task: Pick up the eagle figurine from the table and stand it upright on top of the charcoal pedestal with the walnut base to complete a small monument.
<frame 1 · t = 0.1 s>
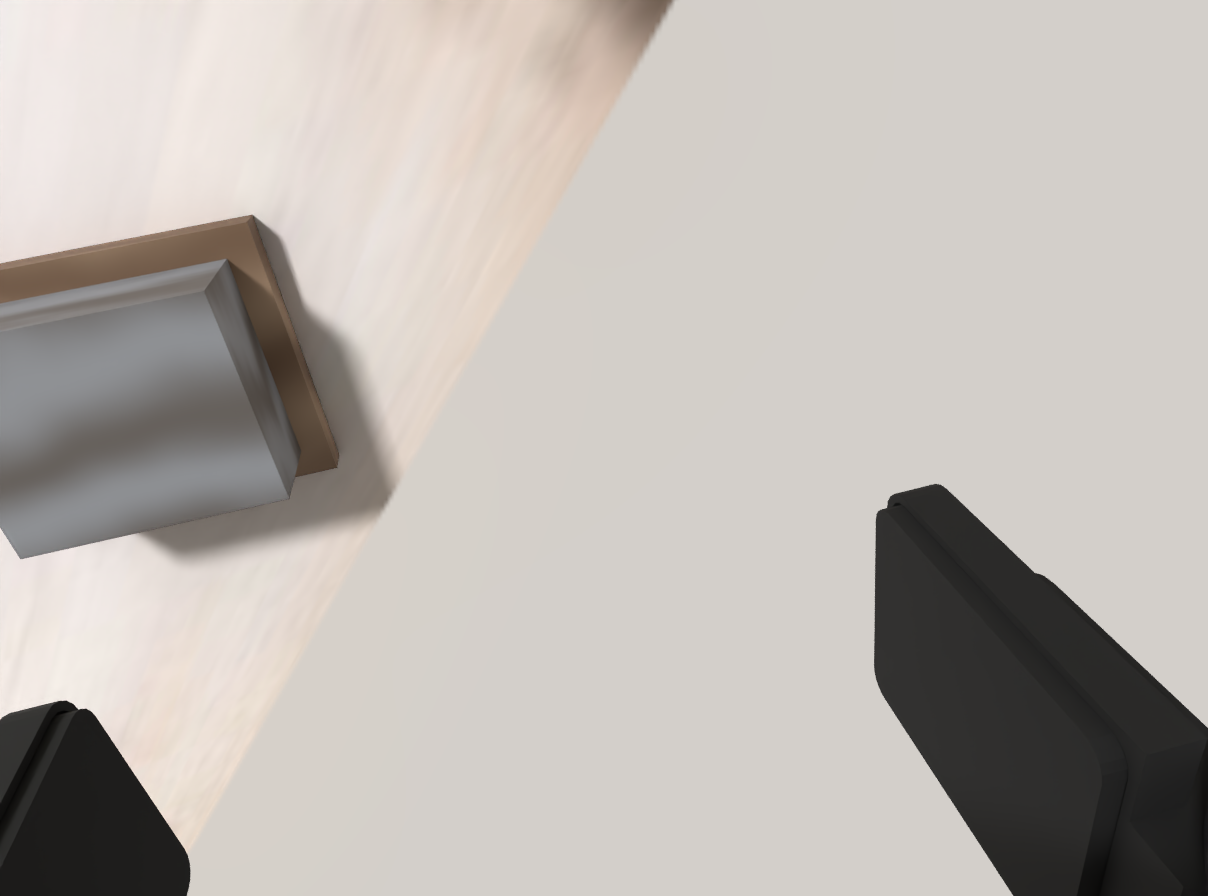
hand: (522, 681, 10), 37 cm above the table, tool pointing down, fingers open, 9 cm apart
pedestal: (146, 376, 44), on the table
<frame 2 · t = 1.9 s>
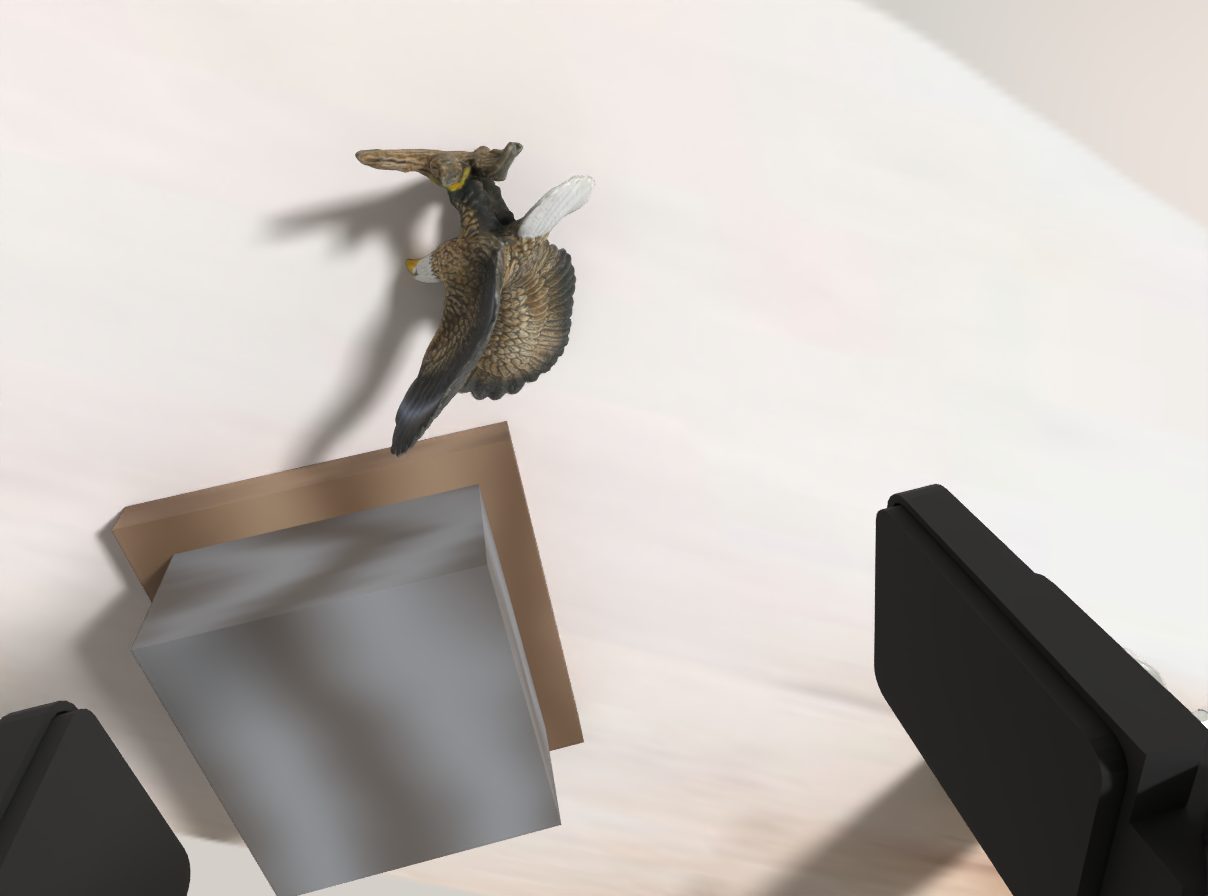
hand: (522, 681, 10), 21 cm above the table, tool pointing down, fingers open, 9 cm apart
eagle figurine: (472, 269, 29), on the table
pedestal: (381, 626, 35), on the table
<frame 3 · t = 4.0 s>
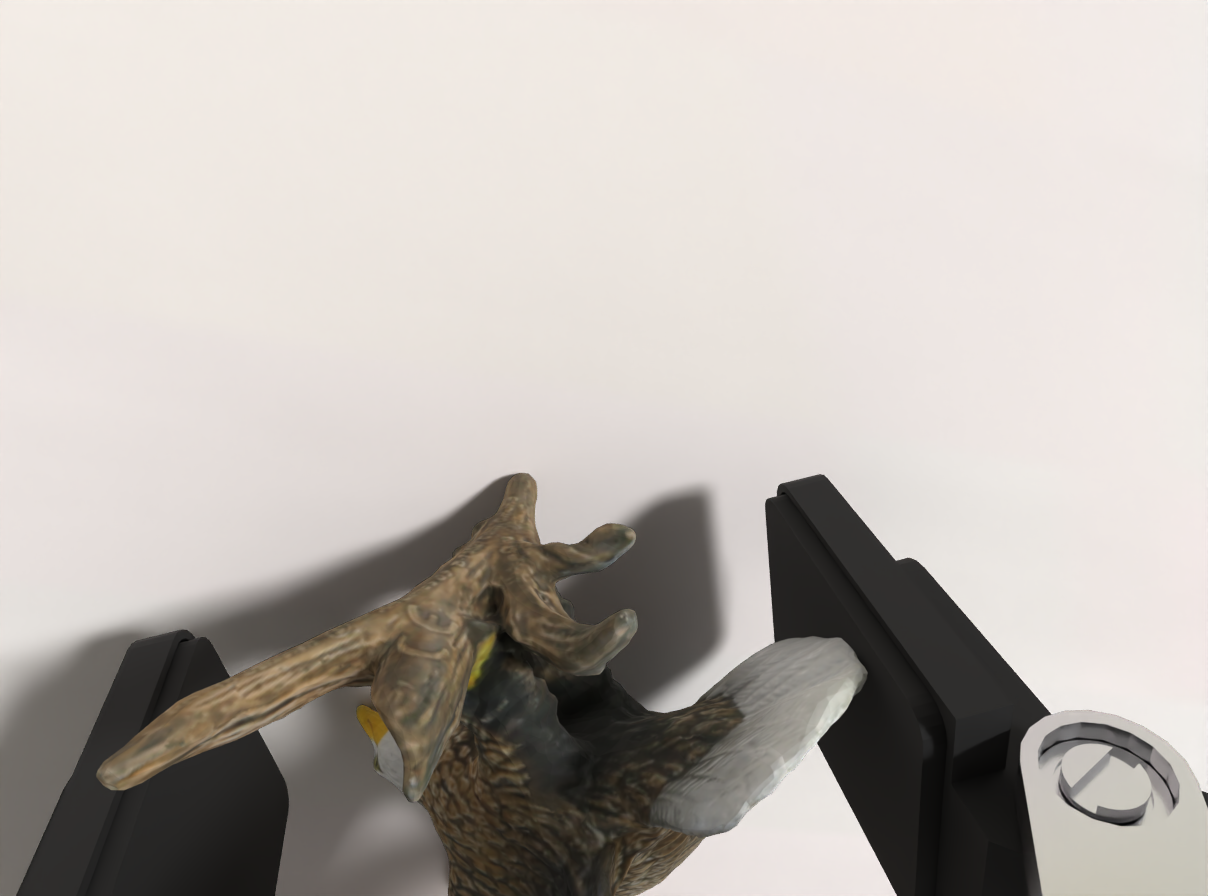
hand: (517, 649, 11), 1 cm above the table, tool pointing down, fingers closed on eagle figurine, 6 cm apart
eagle figurine: (507, 692, 13), on the table, touching gripper
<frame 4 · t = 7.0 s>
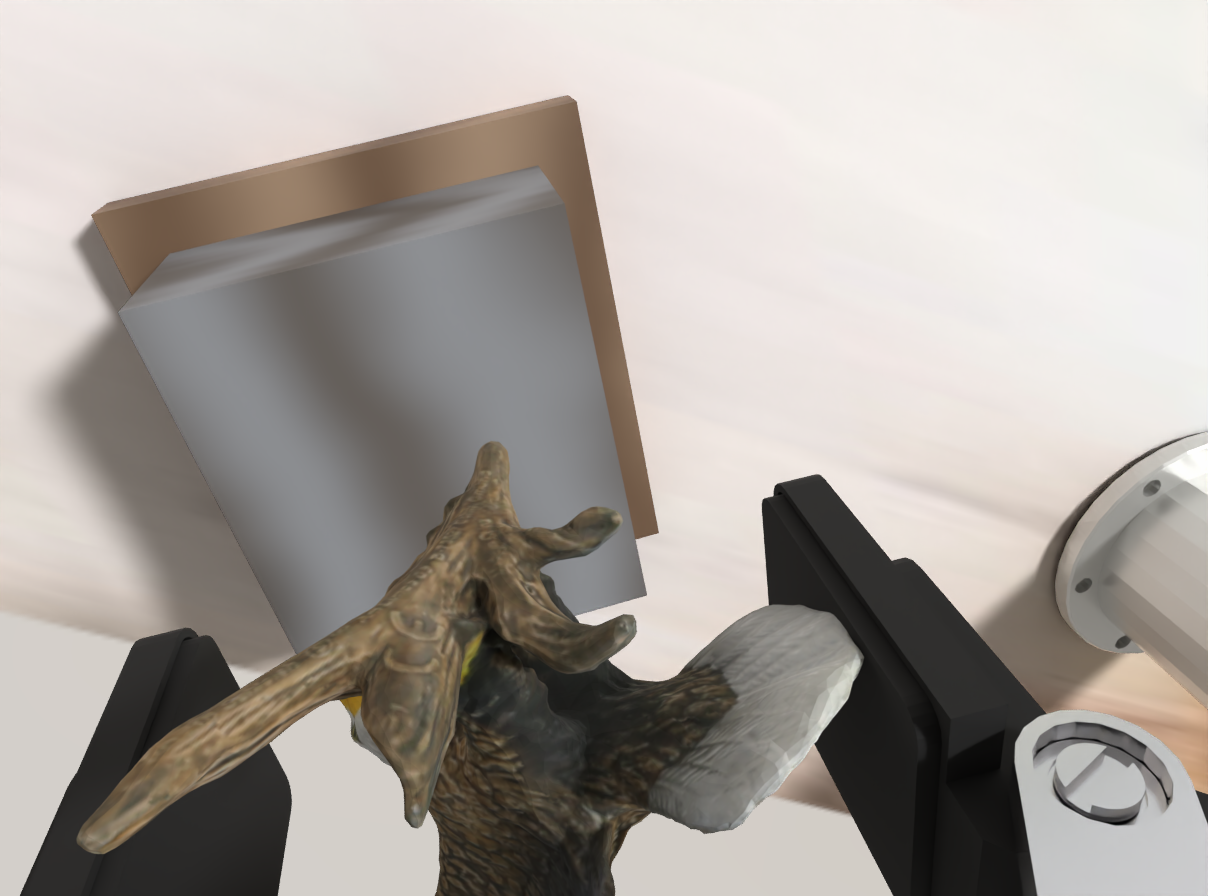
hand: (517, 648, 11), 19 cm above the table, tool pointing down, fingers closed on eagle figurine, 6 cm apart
eagle figurine: (481, 648, 13), point 18 cm above the table, touching gripper
pedestal: (421, 382, 29), on the table
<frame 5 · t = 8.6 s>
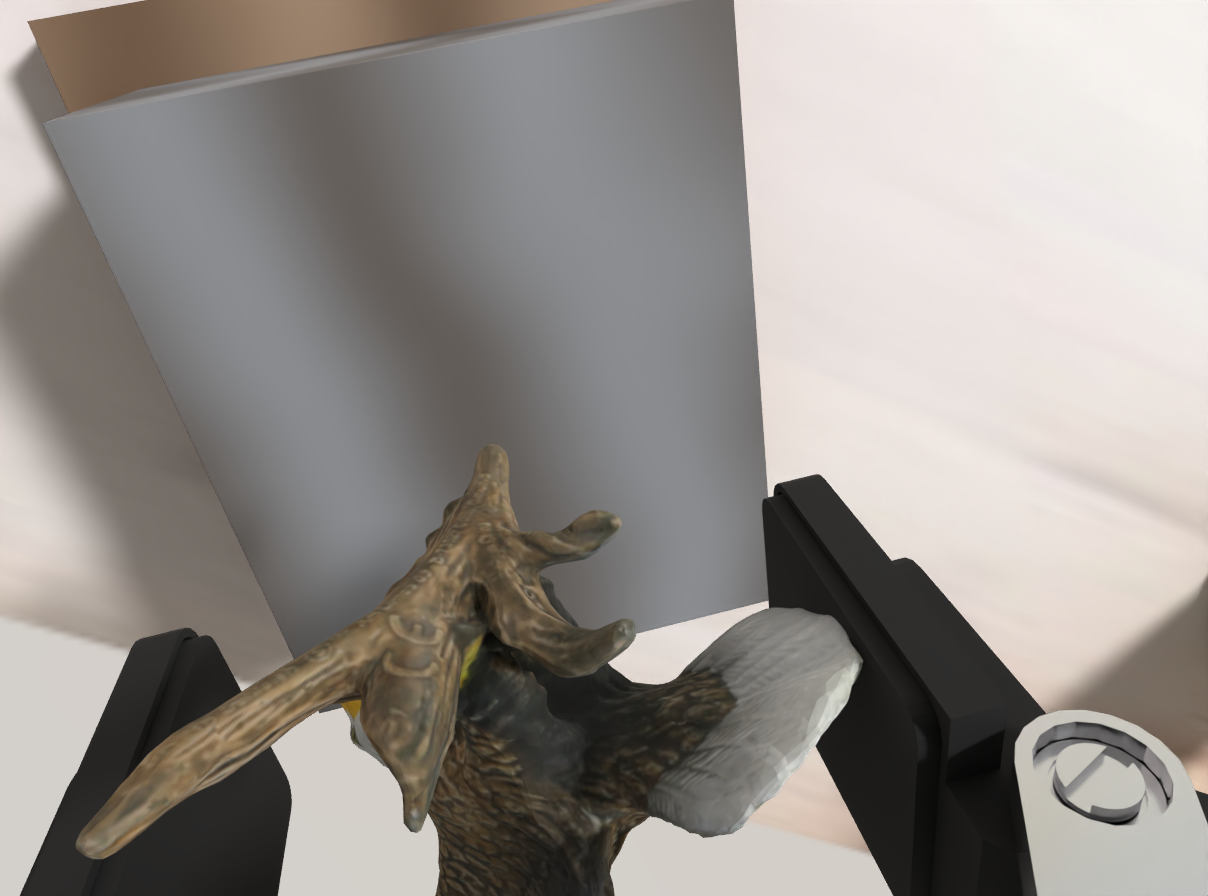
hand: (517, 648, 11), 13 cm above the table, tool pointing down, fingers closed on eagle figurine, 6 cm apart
eagle figurine: (481, 651, 13), point 12 cm above the table, touching gripper
pedestal: (474, 306, 22), on the table
when the fingers open (9 cm above the table, at t = 9.9 s): eagle figurine stays where it is, resting on pedestal.
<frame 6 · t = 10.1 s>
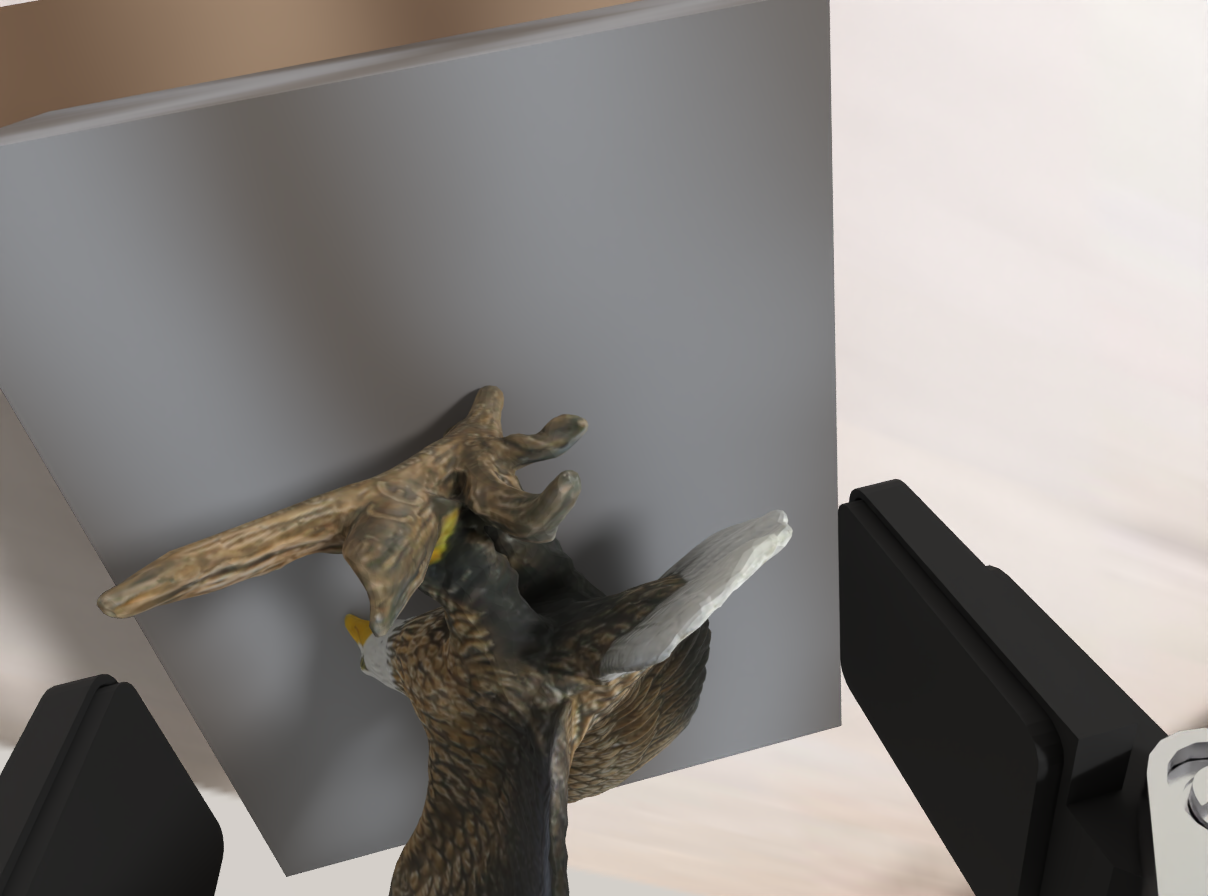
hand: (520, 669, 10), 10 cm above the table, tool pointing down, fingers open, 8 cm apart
eagle figurine: (487, 604, 14), point 6 cm above the table, touching pedestal
pedestal: (474, 364, 18), on the table
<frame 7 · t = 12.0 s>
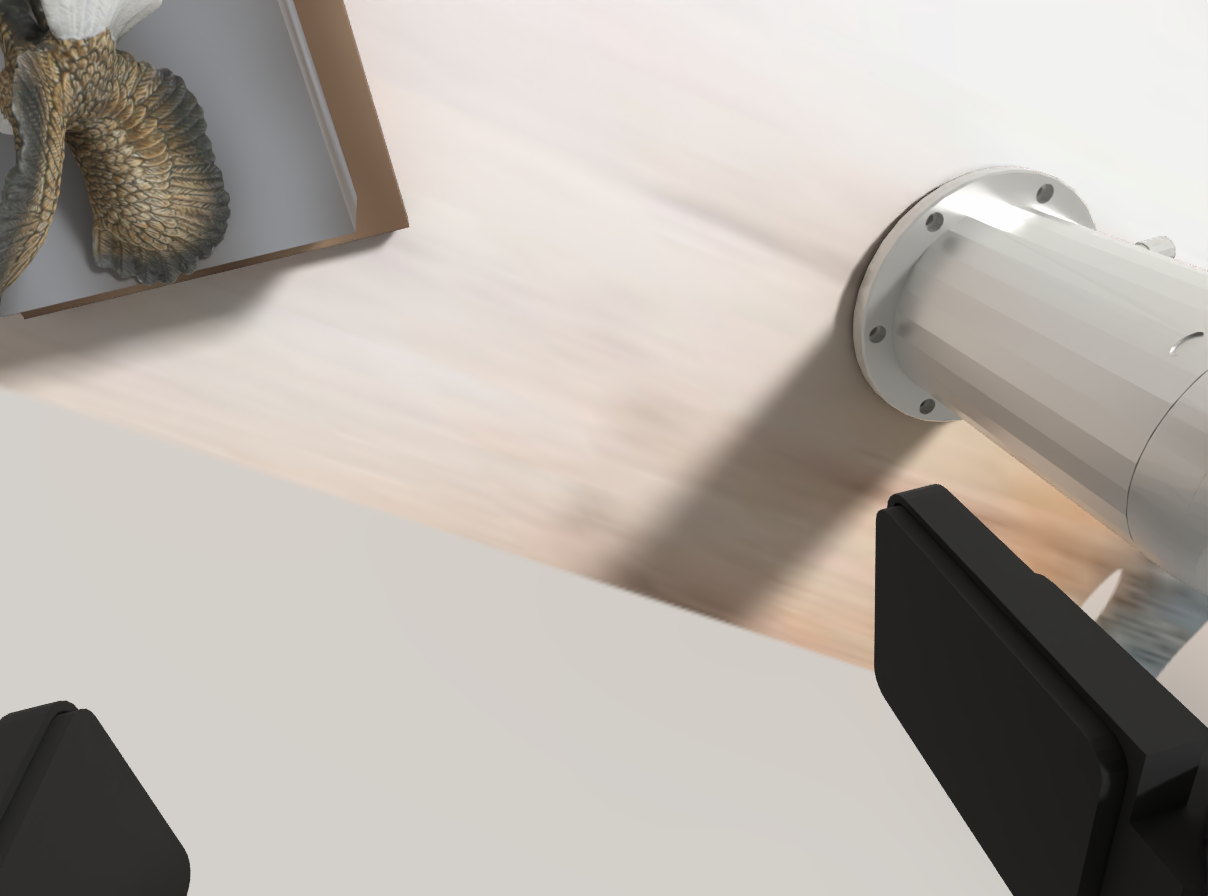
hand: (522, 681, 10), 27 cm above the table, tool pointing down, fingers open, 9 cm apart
eagle figurine: (90, 119, 23), point 6 cm above the table, touching pedestal
pedestal: (130, 31, 28), on the table
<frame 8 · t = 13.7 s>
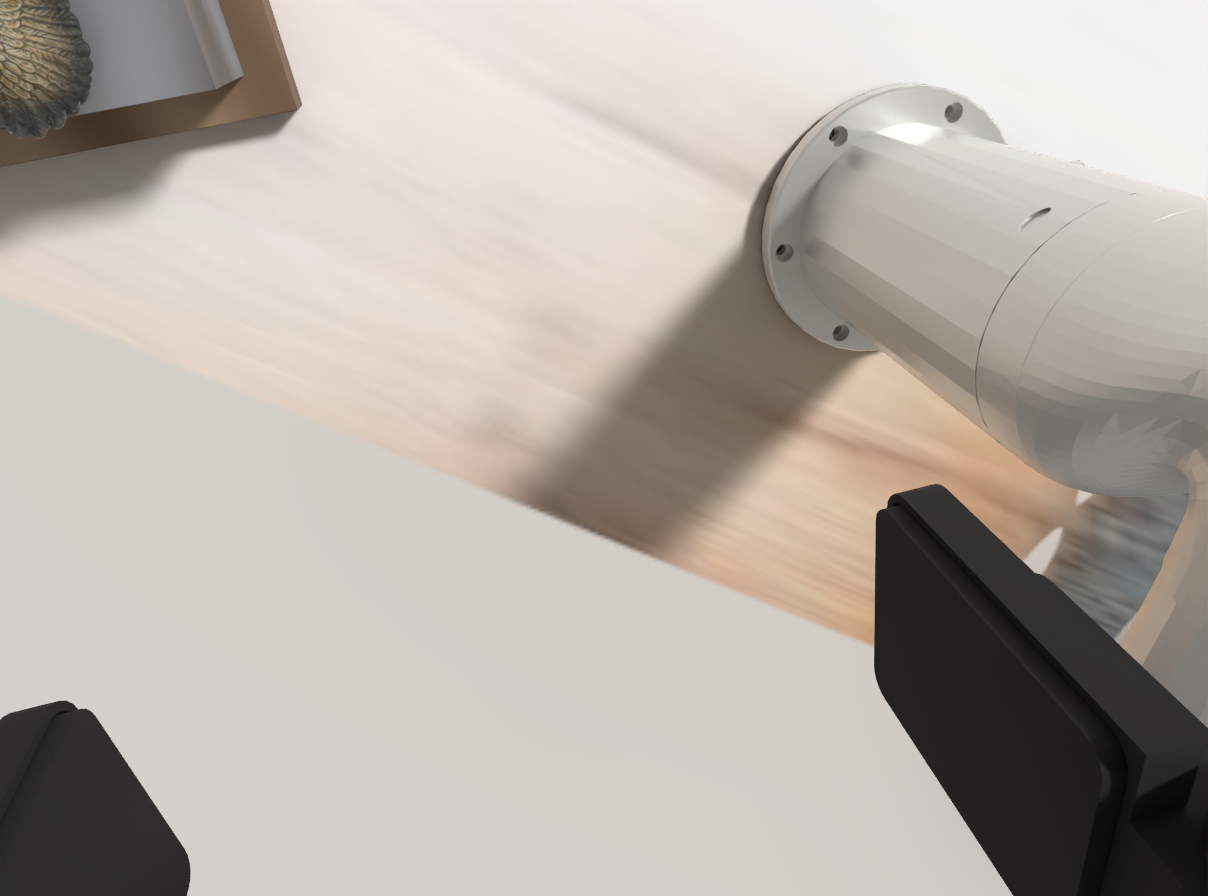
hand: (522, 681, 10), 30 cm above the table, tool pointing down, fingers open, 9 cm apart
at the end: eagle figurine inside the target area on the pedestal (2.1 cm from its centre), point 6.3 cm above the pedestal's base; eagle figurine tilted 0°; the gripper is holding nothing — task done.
